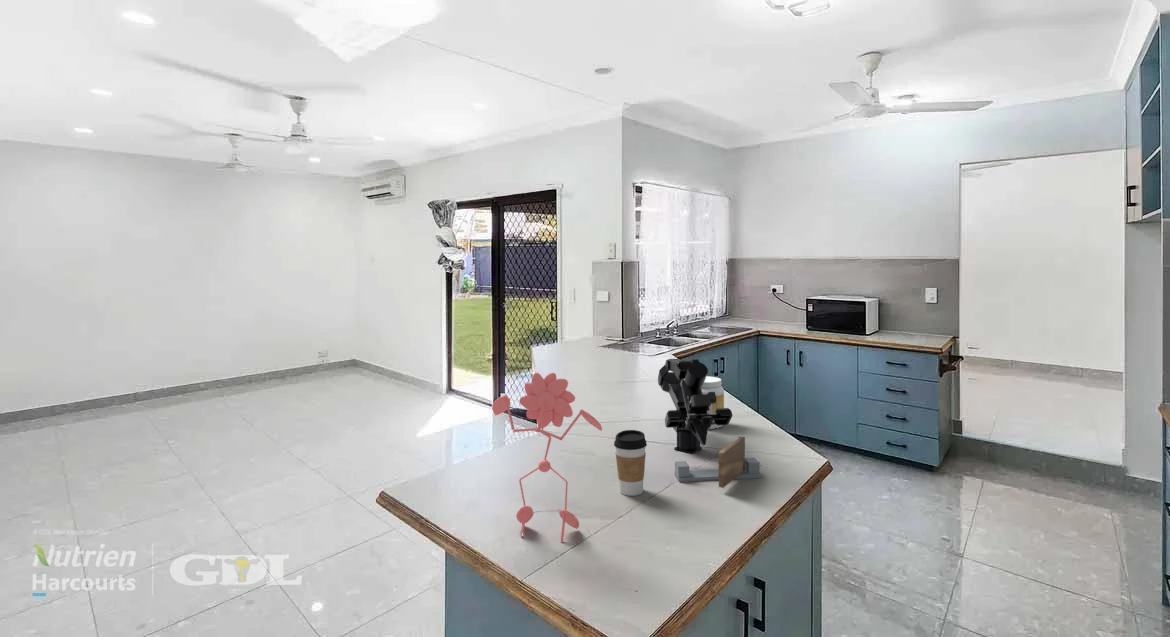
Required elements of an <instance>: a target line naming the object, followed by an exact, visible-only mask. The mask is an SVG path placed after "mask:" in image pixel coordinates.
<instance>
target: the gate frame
mask: <svg viewBox="0 0 1170 637" xmlns="http://www.w3.org/2000/svg"><path fill="white" fill-rule="evenodd" d="M760 464H761V463H760V461H759V460H758V459H756V457H745V470H744V471H742V472H741V473H740V474H739V475H738V476H737V477H736V478H734V479H733V480H740V479H760V478H762V473H761V471H760V470H761V469H760V468H761V466H760ZM674 477H675V478H676V480H677V481H678V482H679V483H684V482H685V483H687V482H704V481H705V480H706V481H708V482H709V481H719V468H718V469H717V468H715V469H699V470H690V465H689V464H688V462H687V461H686V460H682V461H681V460H680V461H674Z"/></svg>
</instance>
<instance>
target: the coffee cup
mask: <svg viewBox="0 0 1170 637" xmlns="http://www.w3.org/2000/svg"><path fill="white" fill-rule="evenodd" d="M613 446H614V447H615V461H616V467H617V468H616V469H617V476H618V477H617V478H618V485H619V486H618V487H619V493H620V494H622V495H624V496H627V497H633V496H634V497H635V496H639V495H641V494H643V492H644V478H645V468H646V467H645V466H646V454H647V453H646V447H647V446H648V443H647V440H646V437H645V433H644V432H642V431H640V430H637V429H636V430H635V429H625V430H622V431H619V432H617V434H616V435H615V440H614V442H613Z"/></svg>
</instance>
